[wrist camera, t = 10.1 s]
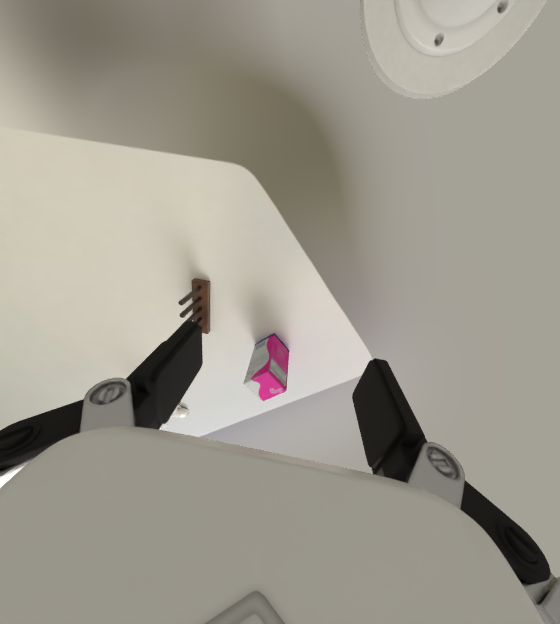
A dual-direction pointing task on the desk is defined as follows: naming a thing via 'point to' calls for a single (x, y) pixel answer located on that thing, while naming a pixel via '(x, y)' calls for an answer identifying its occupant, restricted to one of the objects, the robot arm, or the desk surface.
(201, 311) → the rack
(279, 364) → the supplement box
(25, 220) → the desk surface
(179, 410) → the white creature statuette
